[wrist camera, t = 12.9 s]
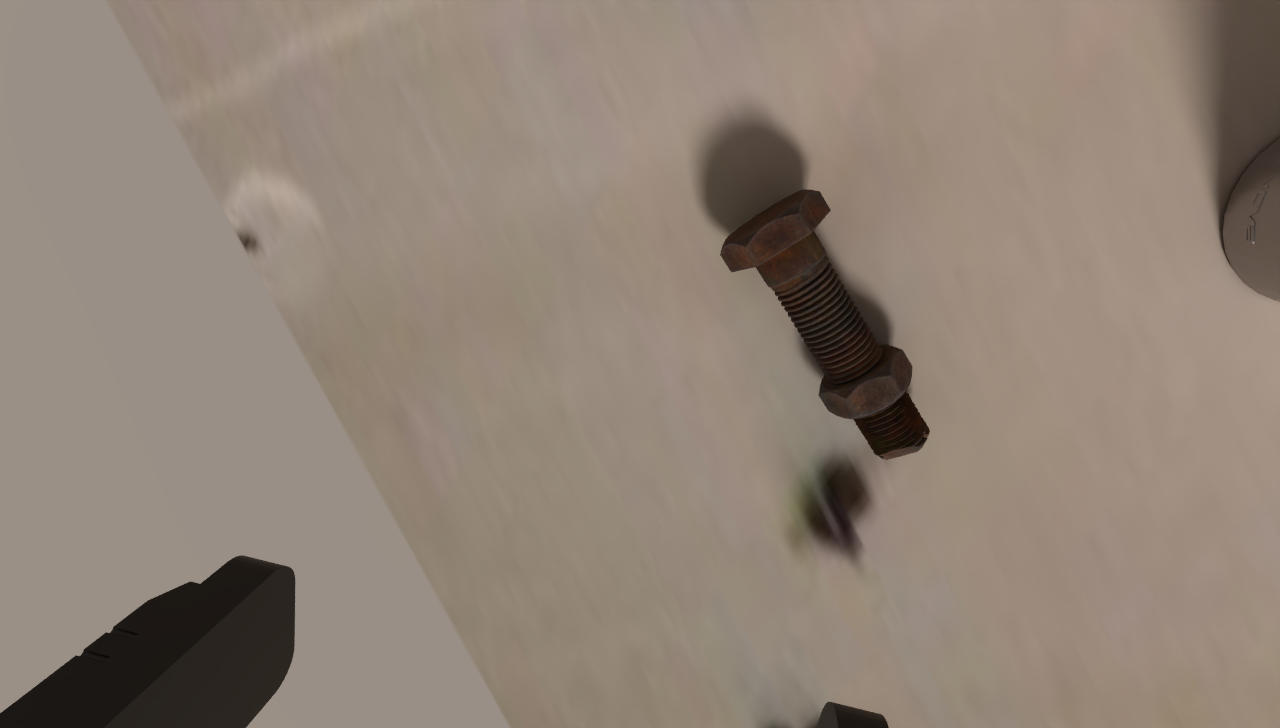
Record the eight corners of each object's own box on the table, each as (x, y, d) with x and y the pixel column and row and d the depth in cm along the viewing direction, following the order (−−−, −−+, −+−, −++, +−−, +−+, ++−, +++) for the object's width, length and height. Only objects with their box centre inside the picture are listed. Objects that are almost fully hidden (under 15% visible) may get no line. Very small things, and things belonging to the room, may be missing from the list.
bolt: (877, 424, 41) (749, 216, 38) (958, 405, 38) (825, 174, 34) (848, 486, 37) (703, 259, 34) (936, 472, 34) (783, 217, 31)
